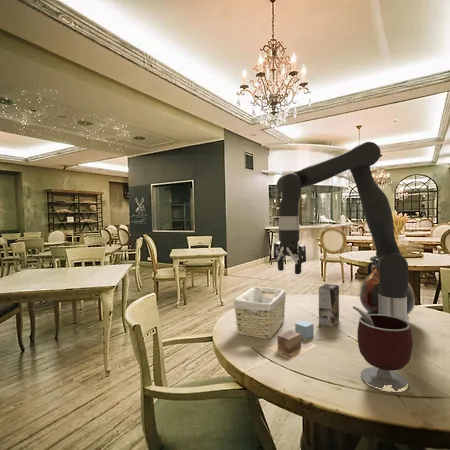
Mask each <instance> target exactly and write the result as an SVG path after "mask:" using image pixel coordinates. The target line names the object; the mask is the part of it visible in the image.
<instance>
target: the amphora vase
mask: <svg viewBox="0 0 450 450" xmlns="http://www.w3.org/2000/svg"><path fill="white" fill-rule="evenodd" d="M369 260H370V262H368V265H367V277H366V278H364V280H363V282H362V283H361V286H360V289H359V300H360V303H361V305H362V306H363V308H364V310H365V311H366V313H367V314H379V266H378V260H377V255H376V256H371V257H369ZM373 266H374V269H372V268H373ZM415 301H416V299H415V293H414V290H413V287H412V286H411V284H410V282H409V281H408V290H407V316H409V314H411V312H412V311H413V310H414V308H415V303H416V302H415Z"/></svg>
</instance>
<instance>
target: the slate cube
mask: <svg viewBox="0 0 450 450" xmlns="http://www.w3.org/2000/svg"><path fill="white" fill-rule="evenodd" d="M294 325H295V328H294V329H295V330H294V332H297V333H299V334H301V339H304V340H307V339H309V338H312V337H314V332H315V331H314V330H315V329H314V323H312V322H309V321H306V320H300V321H298V322H296V323H295V324H294Z"/></svg>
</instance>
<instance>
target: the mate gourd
mask: <svg viewBox="0 0 450 450" xmlns="http://www.w3.org/2000/svg"><path fill="white" fill-rule="evenodd" d="M352 309H353V310H355V311H356V312H358V313H359V314H360V317H359V318H358V319H359V321H358V325H357V345H358V350H359V353H360V355H361V356H362V357H363V359H364V361H366V363H367V364H369V365H370V366H369V367H365V368H363V369H362V370H361V372H360V379H361V378H362V379H363V380H364V381H365V382H367V383H368V384H370V385H372V386H374V387H378V388H381V389H383V388H382V387H384V385H386V386H387V385H392V387H391V388H393V389H394V390H395V391H398V389H401V388H403V387H405V386H406V385H407V384H408V386H409V387H410V381H409V380H408V379H407V378H406V377H405V376H404V375H403V374H401V373H399V372H398V371H401V370H402V369H404V368H405V366H407V365H408V364H409V363H410V360H411V358H412V353H413V334H412V330H411V324H410V322H409V323H408V322H407V321H405V320H403V319H400V318H397V317H393V316H389V315H381V314H367V311H366V312H365V311H364V310H363V309H361V308H358V307H357V306H356V305H353V306H352ZM362 379H361V380H362ZM363 380H362V381H363ZM364 381H363V382H364ZM365 382H364V383H365Z"/></svg>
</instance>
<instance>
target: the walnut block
mask: <svg viewBox="0 0 450 450" xmlns="http://www.w3.org/2000/svg"><path fill="white" fill-rule="evenodd" d="M276 338H277V344H278V349H279V350H281V351H283V352H286V353H288V354H290V353H292V352H294V351H296V350H298V349H300V348H301V340H302V338H301V334H299V333H297V332H295V330H294V331H293V330H291V329H289V330H287V331H284V332H282V333H280V334H277V337H276Z"/></svg>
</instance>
